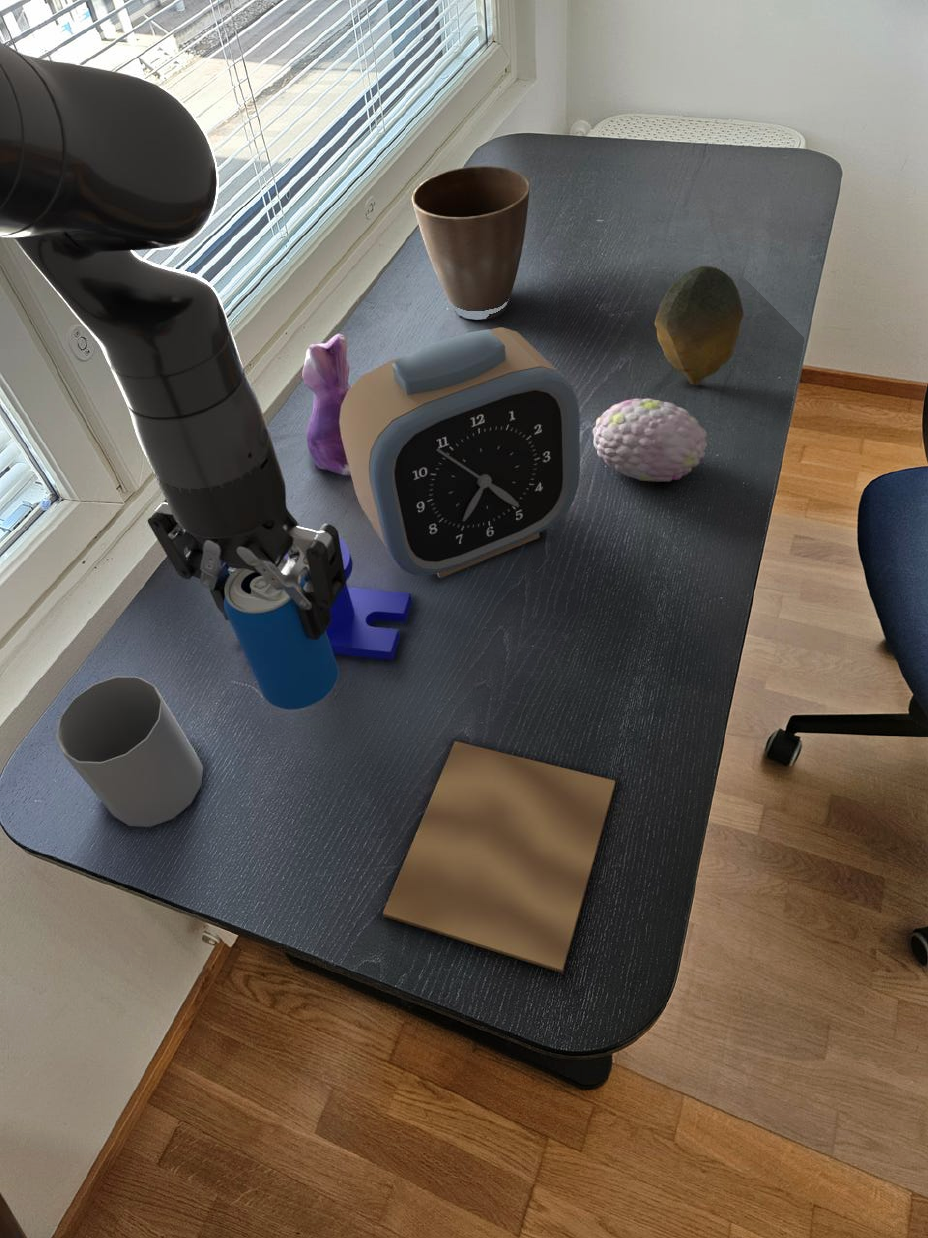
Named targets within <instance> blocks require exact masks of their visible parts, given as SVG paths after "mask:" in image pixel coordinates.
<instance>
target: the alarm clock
mask: <svg viewBox="0 0 928 1238" xmlns="http://www.w3.org/2000/svg"><path fill="white" fill-rule="evenodd" d="M580 420H581V419H580V405H579V399H578V397H577V394H576V391H575V390H574V387H573V385H572V383H570V382H569V381H568V380H567V379H566V378H565V377H564V376H563V375H562V374H561V373H560V371H558V370H557V369H556V368H555V367H554V366H553V365H552V364H551V363H550V362H549V361H548V360H547V359H546V358H545V357H544V356H543V355H542V354H541V353H540V352H539V351H538V350H537V349H536V348H535V347H533V345H531V344H530V342H529V341H528V340H527V339H526V338H524V337H523V335H521V334H520V333H519V332H518V331H516V330H513V329H509V328H506V327H495V328H486V329H481V330H475V331H470V332H466V333H460V334H457V335H453V336H450V337H446V338H443V339H440V340H437V341H434V342H432V343H429V344H427V345H424V346H422V347H419V348H417V349H416V350H413V351H411V352H408V353H407V354H405V355H403V356H402V357H399V358H398V357H397V358H395V359H392V360H390V361H388V362H386V363H384V364H383V365H381V366H379V367H377V368H375V369H372V370H370V371H369V372H367V373H364V374H363V375H361V376H360V377H359V378H358V379H357V380H356V381H355V382H354V383H353V384H352V386H351V388H350V389H349V390H348V391H347V394H346V396H345V398H344V400H343V403H342V405H341V411H340V420H339V424H340V431H341V438H342V442H343V446H344V449H345V453H346V457H347V461H348V465H349V469H350V473H351V475H350V476H351V480H352V485H353V488H354V489H353V490H354V492H355V496H356V497H357V500H358V503H359V506H360V507H361V509H362V510H363V512H364V514H365V515H366V517H367V519H368V520H369V522H370V523H371V525H372V527H373V528H374V530H375V532H376V533H377V536H378V537H379V539H380V540H381V541H382V543H383V545H384V546H385V548H386V550H387V552H388V553H389V556H391V558H392V560H393V561H394V562H395V563H396V565H398V567H399V568H400V569H401V570H403V571H405V572H407V573H408V574H410V575H416V576H427V577H428V576H432V575H437V577H438V578H439V579H442V578H444V577H447V576H448V575H451V574H453V573H456V572H458V571H461V570H464V569H466V568H468V567H471V566H473V565H476V564H478V563H481V562H483V561H487V560H488V559H491V558H493V557H496V556H498V555H501V554H503V553H505V552H509V551H510V550H512V549H515V548H518V547H520V546H522V545H525V544H527V543H530V542H532V541H534V540H537V539H539V538H540V533H541V532H543V531H545V530H546V529H548V528H550V527H552V526H554V525H556V523H558V522H559V520H560V519H561V518H562V517H564V516H565V514H567V512H568V510H569V509H570V507H571V506H572V504H573V503H574V501H575V498H576V495H577V493H578V489H579V485H580V474H581V463H580V462H581V450H580V449H581V447H580V446H581V445H580V444H581V443H580V441H581V438H580V437H581V433H580V431H581V430H580V428H581V427H580V426H581V425H580V422H581V421H580Z"/></svg>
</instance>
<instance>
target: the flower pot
mask: <svg viewBox="0 0 928 1238" xmlns="http://www.w3.org/2000/svg"><path fill="white" fill-rule="evenodd" d="M530 186H531V185H530V183H529V180H528V179H527V178H526V177H525V176H524V175H523V174H522V173H521V172H518V171H515V170H513V169H509V168H507V167H501V166H492V165H475V166H474V165H473V166H466V167H458V168H454V169H450V170H446V171H443V172H440V173H438V174H435V175H433V176H431V177H430V178H426V179H425V180H424V181H422V182H421V183H420V184H419V185H418V186H417V187H416V188H415V189H414V191H413V193H412V196H411V201H412V206H413V209H414V214H415V217H416V220H417V224H418V227H419V231H420V234H421V237H422V239H423V243H424V245H425V248H426V251H427V254H428V257H429V260H430V262H431V265H432V267H433V270H434V272H435V274H436V277H437V279H438V282H439V283H440V285H441V287H442V289H443V292H444V294H445V295H446V298H447V300H448V301H449V303H450V302H451V303H452V304H453V305H454V306H455V307H457V308H460V309H463V310H466V311H485V310H489V309H494V308H498V307H500V306H502V305H503V304H504V303H505V302H507V301H508V299H509V298H510V299H511V296H512V292H513V289H514V286H515V283H516V278H517V276H518V272H519V266H520V262H521V257H522V252H523V246H524V240H525V235H526V226H527V218H528V209H529V200H530ZM510 299H509V300H510ZM451 303H450V304H451ZM508 305H509V303H508V304H507V305H506V306H505V307H504V308H503V309H501V310H500V311H498V312H496V313H493V314H489V316H488V317H487V318H486V319H483V320H482V321H487V320H490V319H494V318H496V317H499V316H500V315H502V314H503V313H504V312H505V311H506V309H507V308H508Z"/></svg>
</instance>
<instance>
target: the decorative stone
mask: <svg viewBox="0 0 928 1238" xmlns="http://www.w3.org/2000/svg"><path fill="white" fill-rule="evenodd" d="M658 308H659V309H658V311H657V313H656V316H655V320H654V326H655V329H656V336H657V341H658V344H659V345H660V347H661V349H662V351H663V356H664V357H665V359H666V360H667V361H668V363H670V364H671V365H672V366H673V368H674V369H676V370H677V371H679V372H680V373H683V375H684V376H685V377H686V379H687V382H689V384H691V385H693V386H698V385H701V382H702V381H703V380H704V379H705V378H707V377H710V376H712V375H714V374H715V373H716V372H717V371H719V370H720V369H721V368H720V367H721V366H723V365H726V363H728V361H729V360H730V359H731V358H732V357H733V353H734V350H735V347H736V345H737V341H738V338H739V337H740V336H739V335H740V327H741V323H742V320H743V318H744V314H745V313H744V308H743V304H742V300H741V296H740V293H739V290H738V288H737V286H736V284H735V282H734V280H733V279H732V278H731V276H729V275H728V274H727V273H726V272H724V271H723V270H721V269H720V268H718V267H715V266H710V265H700V266H697V267H695V268H692V269H690V270H688V271H686V272H685V273H683V274H682V275H681V276H679V277H678V278H677V279H676V280H675V281H674V282H673V283H672V284H671V285H670V286H669V287H668V290H667V291H666V293H665V295H664V297H663V298H662V300H661V302H660V304H659V307H658Z"/></svg>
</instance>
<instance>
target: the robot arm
mask: <svg viewBox="0 0 928 1238" xmlns="http://www.w3.org/2000/svg"><path fill="white" fill-rule="evenodd" d="M218 173H219V172H218V166H217V162H216V158H215V154H214V150H213V148H212V145H211V142H210V141H209V138H208V136H207V134H206V133H205V130H204V129H203V128H202V126H201V123H200V122H199V121H198V120H197V118H196V117H195V115H194V113H192V112H191V111H190V109H189V108H188V107H187V106H186V105H185V104H184V103H183V102H182V101H181V100H180V99H179V98H178V97H176V96H175V95H174V94H173V93H171V91H168V90H167V89H165V88H164V87H162V86H160V85H159V84H156V83H154V82H152V81H150V80H147V79H144V78H141V77H137V76H135V75H130V74H126V73H121V72H117V71H112V70H107V69H102V68H97V67H92V66H88V65H82V64H76V63H70V62H63V61H56V60H50V59H43V58H39V57H33V56H30V55H26V54H24V53H21V52H20V51H17V49H14V48H12V47H11V46H9V45H6V44H4V43H2V42H0V238H13V240H14V241H15V242H16V243H17V246H19V248H20V249H21V250H22V252H23V253H24V255H25V256H26V257H27V258H28V260H30V262H31V263H32V264H33V265H34V267H35V268H36V269H37V270H38V271H39V273H40V274H41V275H42V276H43V277H44V279H45V280H46V281H47V282H48V283H49V285H50V286H51V288H53V289H54V291H55V292H56V293H57V294H58V296H59V297H60V298H61V299H62V300H63V302H64V303H65V304H66V306H67V307H68V308H69V310H70V311H71V312H72V313H73V314H74V316H75V317H76V318H77V319H78V320H79V321H80V323H81V324H82V325H83V326H84V327H85V328H86V329H87V330H88V332H89V333H90V335H91V336H92V337H93V338H94V340H95V341H97V343H98V345H99V346H100V348H101V350H102V353H103V355H104V357H105V359H106V362H107V364H108V365H109V368H110V370H111V372H112V375H113V377H114V380H115V381H116V383H117V386H118V387H119V390H120V392H121V394H122V397H123V398H124V401H125V403H126V406H127V409H128V411H129V414H130V417H131V421H132V425H133V428H134V431H135V434H136V438H137V440H138V442H139V445H140V446H141V447H140V448H141V449H142V451H143V453H144V456H145V458H146V460H147V462H148V464H149V466H150V468H151V471H152V473H153V476H154V477H155V480H156V481H157V482H156V483H158V486H159V488H160V491H161V493H162V494H163V496H164V500H163V501H162V502H161V503H160V505H158V507H157V508H156V509H155V510H154V511H153V513H152V514H151V515H150V516H149V518H147V524H148V526H149V528H150V530H151V531H152V532H153V535H154V536H155V537H156V539H157V541H158V542H159V544H160V546H161V548H162V550H163V551H164V553H165V554H166V556H167V559H168V560H169V562H170V563H171V565H172V567H173V568H174V570H175V572H176V574H178V576H179V577H181V579H185V580H190V579H192V577H194V578H196V579H199V583H200V585H201V586H202V587H203V588H205V589H207V590H209V593H210V594H211V597H212V599H213V601H214V603H215V606H216V608H217V609H218V610H219V612H221V614H222V615H223V617H224V619H225V621H229V619H228V616H227V614H226V612H225V609H224V598H225V591H224V590H225V584H226V582H227V580H228V578H229V576H230V575H231V574H232V573H233V572H234V571H235V570H236V569H249V570H251V571H254V572H257V573H260V574H261V575H262V576H263V577H264V578H265V579H266V580H267V581H268V582H269V583H270V585H271V586H272V587H273V588H274V589H275V590H277V591H280V590H284V591H285V592H286V593H287V594H288V595H289V596H290V597H291V598H292V600H293V601H294V602H295V603H296V604H297V605H298V606H297V607H296V608H297V611H298V614H299V617H300V619H301V622H302V625H303V628H304V630H305V633H306V636H307V638H309V639H314V640H318V639H319V638H320V636H321V635H323V634H324V632H325V631H326V629H327V627H328V626H329V624H330V622H331V619H332V616H331V613H330V610H329V609H330V608H331V607H332V606H333V604H334V602H335V599H336V598H337V596H338V594H339V593H340V591H341V589H342V588H343V587H344V586H345V584H347V581H346V575H345V570H344V564H343V558H342V552H341V546H340V540H339V538H340V535H339V531H338V529H337V528H336V527H335V526H334V525H333V524H329V523H324V524H322V525H321V527H320V529H319V530H314V529H311V528H306V527H303V526H300V525H299V522H298V521H297V519H295V518H294V516H293V515H292V514H291V513H290V511H289V509H288V507H287V491H286V489H287V488H286V482H285V479H284V475H283V472H282V468H281V466H280V462H279V460H278V457H277V454H276V451H275V448H274V445H273V442H272V439H271V434H270V432H269V429H268V426H267V423H266V420H265V419H266V418H265V416H264V413H263V411H262V408H261V404H260V402H259V399H258V396H257V394H256V392H255V390H254V388H253V386H252V384H251V382H250V380H249V378H248V376H247V374H246V372H245V368H244V366H243V362H242V359H241V356H240V353H239V351H238V347H237V345H236V341H235V339H234V335H233V332H232V328H231V327H230V324H229V320H228V317H227V314H226V311H225V309H224V306H223V303H222V300H221V299H220V297H219V294H218V292H217V291H216V289H215V288H214V287H213V285H212V284H211V283H209V281H207V280H206V279H204V278H203V277H201V276H199V275H197V274H195V273H193V272H192V273H191V272H187V271H184V270H181V269H180V270H179V269H176V268H173V267H167V266H163V265H160V264H156V263H153V262H151V261H148V260H146V259H144V258H142V257H141V256H139V255H138V254H137V252H135V251H148V250H149V251H150V250H165V249H172V248H177V247H179V246H182V245H185V244H187V243H189V242H190V241H192V240H193V239H195V238H196V237H197V236H198V235H199V234H200V233H201V232H202V231H203V230H204V229H205V227H206V226H207V225H208V223H209V221H210V219H211V217H212V216H213V214H214V210H215V208H216V204H217V199H218V194H219V174H218ZM186 548H187V550H188V553H187V554H185V549H186ZM286 554H288V557H289V559H288V562H287V564H286V565H285V567H284V568H283V570H282V571H280V570H279V569H278V568H277V567H278V566H279V565H280V563H281V562H282V560H283V559H284V557H285V556H286ZM230 568H231V569H230ZM233 569H235V570H233ZM299 575H301V577H302V578H303V579H304V580H305V581H306V582H307V583H306V584H305V586H304V587H303V588H302V587H301V585H300V584H299V583H298V581H297V578H298V576H299ZM0 1238H28V1236H27V1235H26V1233H25V1231H24V1229H23V1228H22V1226H21V1225H20V1223H19V1221H18V1219H17V1218H16V1216H15V1214H14V1213H13V1211H12V1209H11V1208H10V1206H9V1204H8V1203H7V1201H6V1199H5V1198H4V1196H3V1194H2V1193H1V1192H0Z"/></svg>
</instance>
